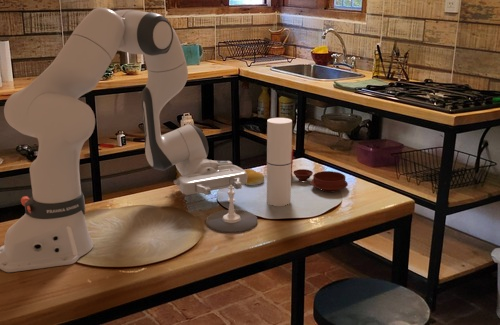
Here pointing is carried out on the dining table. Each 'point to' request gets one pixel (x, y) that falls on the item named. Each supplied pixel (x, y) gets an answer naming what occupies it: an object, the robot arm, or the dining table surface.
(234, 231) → the charcoal plate
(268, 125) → the cylindrical container
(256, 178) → the bread roll
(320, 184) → the pottery
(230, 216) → the chess piece
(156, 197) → the dining table surface
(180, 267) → the dining table surface
